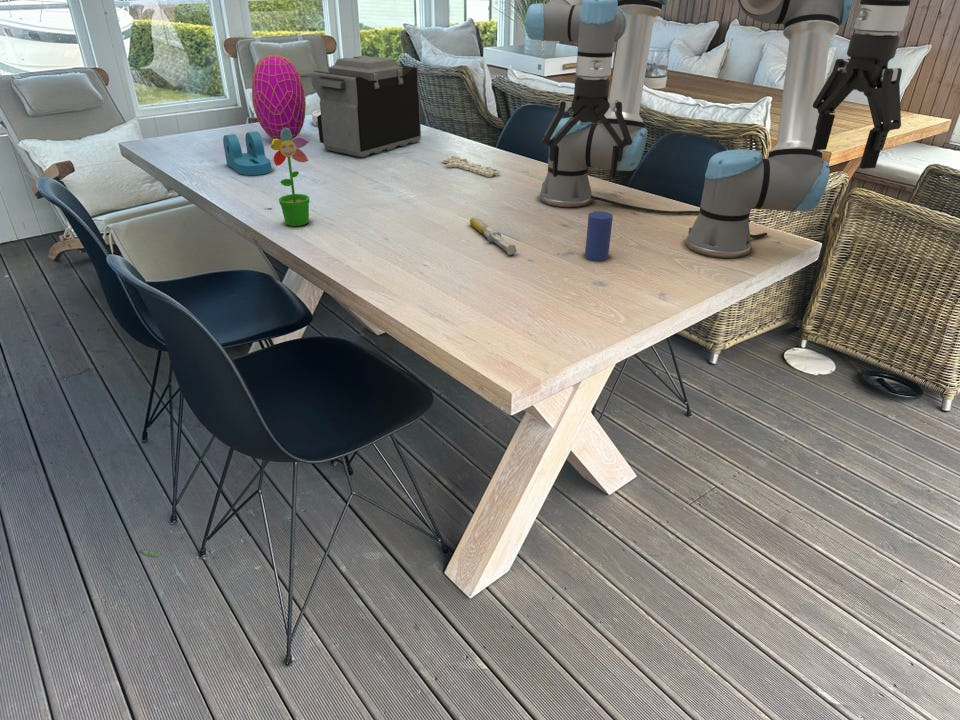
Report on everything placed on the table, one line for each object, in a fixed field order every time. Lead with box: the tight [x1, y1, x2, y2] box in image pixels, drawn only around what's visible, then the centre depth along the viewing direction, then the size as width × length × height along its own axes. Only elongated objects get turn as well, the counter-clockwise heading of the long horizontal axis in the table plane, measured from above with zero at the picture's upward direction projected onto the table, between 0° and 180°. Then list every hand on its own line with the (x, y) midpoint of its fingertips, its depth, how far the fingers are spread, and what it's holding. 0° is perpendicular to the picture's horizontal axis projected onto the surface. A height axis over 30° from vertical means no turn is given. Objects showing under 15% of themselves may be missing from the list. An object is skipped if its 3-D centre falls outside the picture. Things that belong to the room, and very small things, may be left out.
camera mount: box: [222, 131, 272, 176], centre depth 226 cm, size 18×10×10 cm, turn 35°
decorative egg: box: [251, 54, 307, 141], centre depth 257 cm, size 19×19×30 cm
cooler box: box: [310, 55, 422, 159], centre depth 250 cm, size 37×22×30 cm, turn 144°
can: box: [584, 210, 614, 262], centre depth 163 cm, size 6×6×10 cm
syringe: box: [469, 216, 518, 256], centre depth 174 cm, size 25×4×3 cm, turn 21°
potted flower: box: [270, 128, 310, 227], centre depth 177 cm, size 9×8×25 cm
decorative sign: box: [442, 155, 499, 178], centre depth 232 cm, size 26×1×10 cm
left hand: (583, 175), depth 159 cm, fingers open, 13 cm apart
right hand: (841, 158), depth 128 cm, fingers open, 13 cm apart
